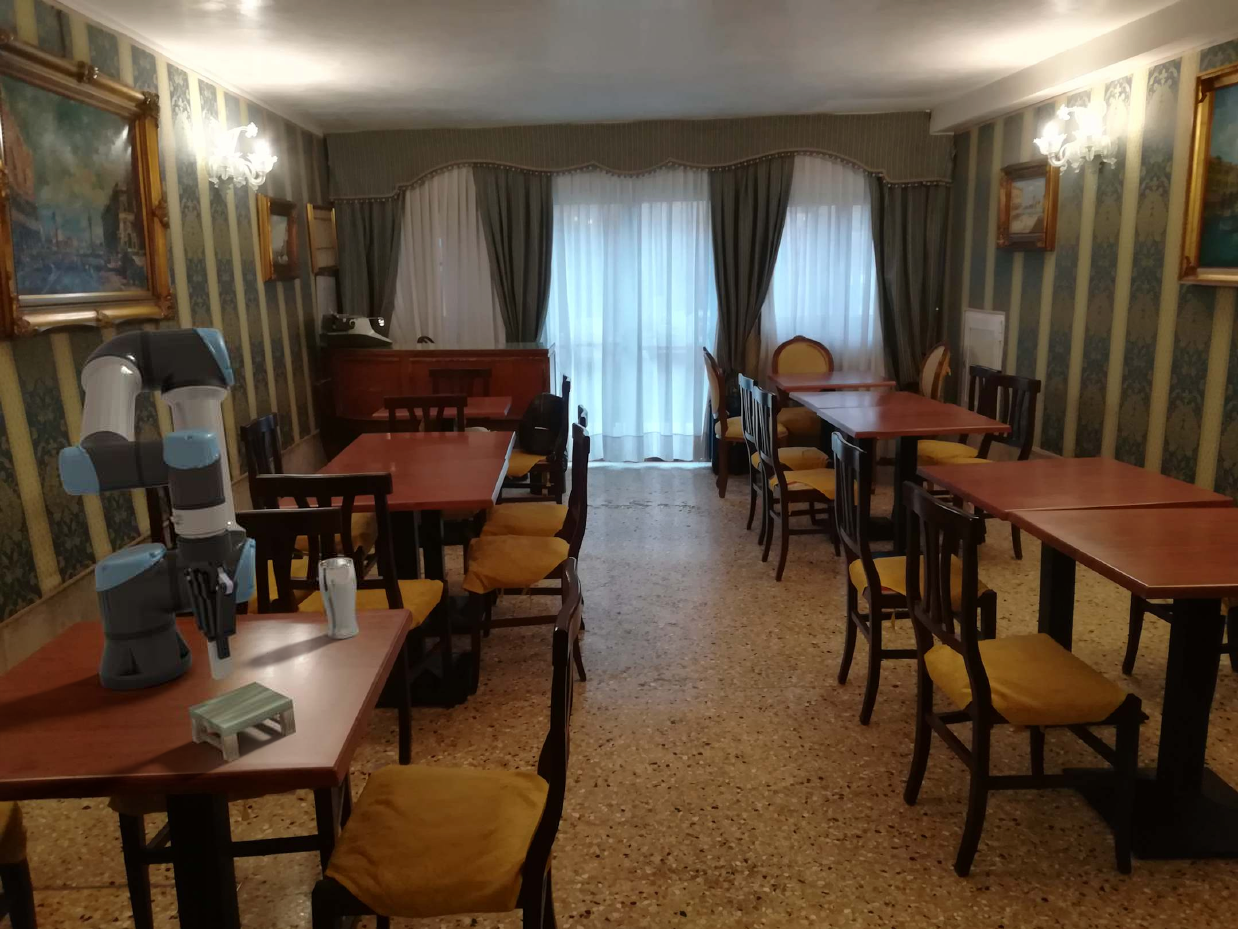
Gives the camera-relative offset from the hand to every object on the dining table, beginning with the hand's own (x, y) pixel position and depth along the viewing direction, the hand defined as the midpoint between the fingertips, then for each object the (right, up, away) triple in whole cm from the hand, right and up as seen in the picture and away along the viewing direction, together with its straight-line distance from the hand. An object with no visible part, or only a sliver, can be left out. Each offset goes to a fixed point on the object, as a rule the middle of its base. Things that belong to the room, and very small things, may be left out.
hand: (222, 675), depth 140 cm
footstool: (-1, -6, +2) cm, 6 cm away
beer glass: (+7, -1, +39) cm, 40 cm away
